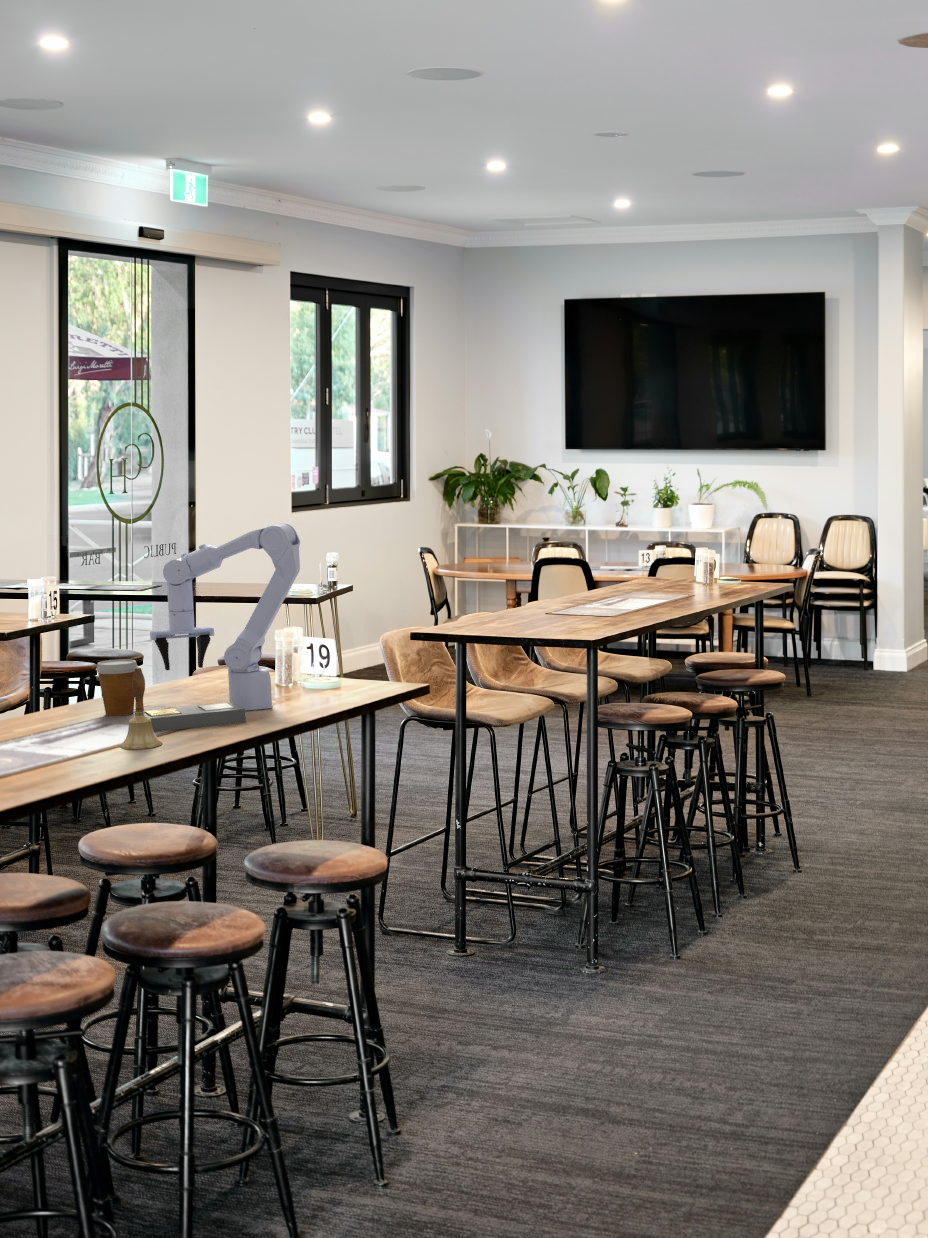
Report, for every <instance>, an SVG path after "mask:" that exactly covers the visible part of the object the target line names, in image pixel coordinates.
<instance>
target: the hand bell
mask: <svg viewBox="0 0 928 1238" xmlns="http://www.w3.org/2000/svg"><path fill="white" fill-rule="evenodd" d="M132 688H133V693H134V696H135V699H134V710H135V711H136V712H135V713H134V717H133V718H130V719H129V721H128V729H127V735H126V737H125V739H124V740H123V741H122V743H121V744H120V748H121V749H124V750H143V749H153V748H157V747H161V746H162V745H163V742H162V741H161V740H160V739H159V738H158V736H157V735H156V733H155V732H154V731H153V727H152V723H151V719H150V718H147V717H145V716H144V710H145V709H144V695H145V691H146V679H145V676H144V673H143V669H142V667H138V668H135V671H134V675H133V679H132Z"/></svg>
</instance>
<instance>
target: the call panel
mask: <svg viewBox="0 0 928 1238" xmlns="http://www.w3.org/2000/svg"><path fill="white" fill-rule="evenodd" d="M223 703H227V704H229V705H231V706H233V707H234V708H233V709H223V710H213V711H204V710H202V709H200V708H199V706H203V705H213V704H223ZM172 708H174V709H175V710H177V711H179V712H180V713H181V714H173V715H163V716H153V717H150V716H148V715H147V714H146V713H145V711H152V710H162V709H172ZM135 712H136V711H134V713H133V714H135ZM144 716H145V717H147V718H150V719H151V723H152V727H153V731H154V733H155V732H156V733H157V732H165V731H166V732H167V731H174V730H175V731H176V730H186V729H194V728H205V727H214V726H215V727H216V726H225V725H233V724H244V723H247V714H246V709H245V708H243V707H241V706H239V705H237V704H235V703H233V702H230V701H226V702H225V701H224V702H215V703H206V704H196V705H186V706H177V707H176V706H175V707H164V708H155V709H144Z"/></svg>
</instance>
